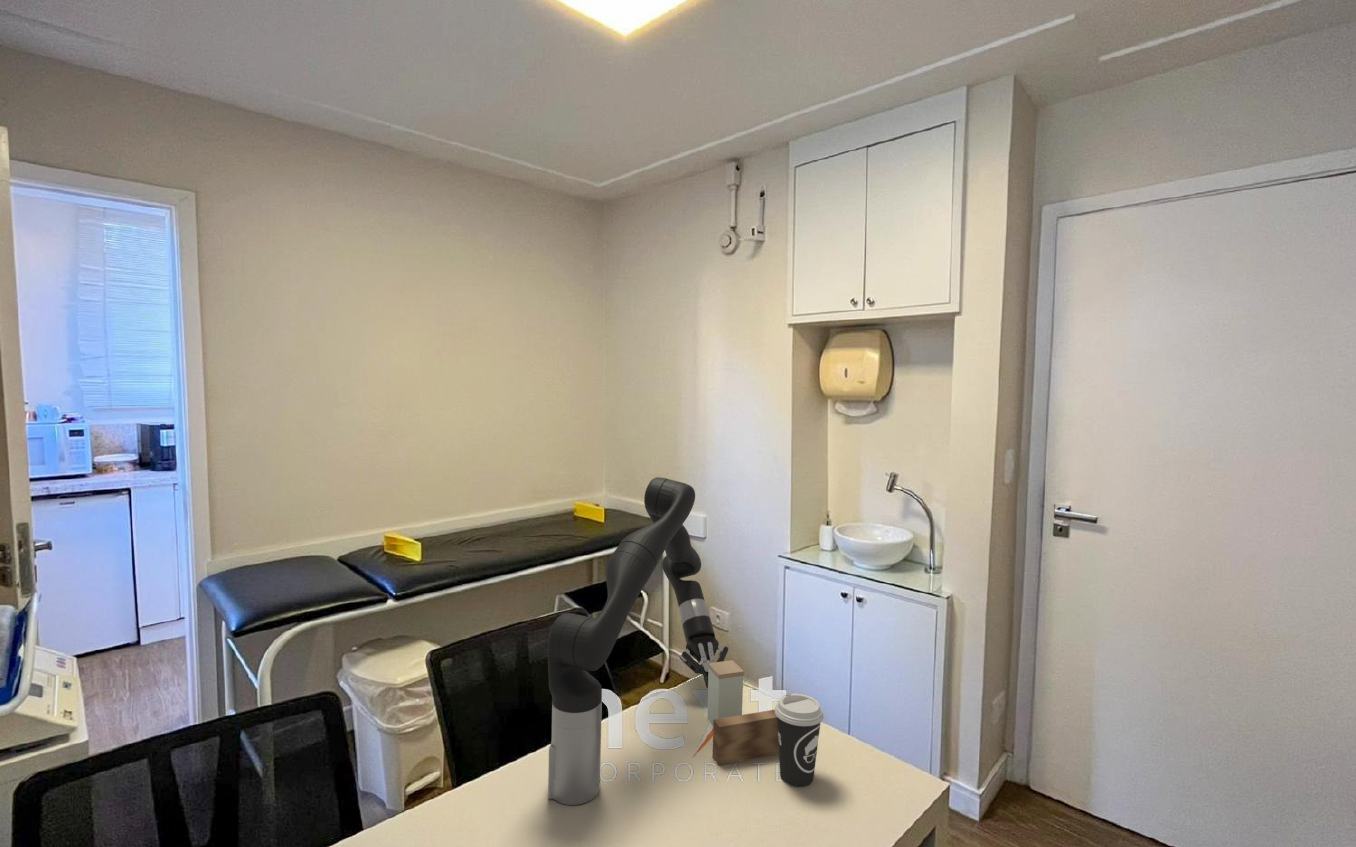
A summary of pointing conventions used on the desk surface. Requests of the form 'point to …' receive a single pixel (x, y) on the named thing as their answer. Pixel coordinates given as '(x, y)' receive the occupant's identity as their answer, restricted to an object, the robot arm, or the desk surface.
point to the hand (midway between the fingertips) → (713, 688)
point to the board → (745, 737)
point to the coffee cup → (798, 737)
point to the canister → (724, 690)
